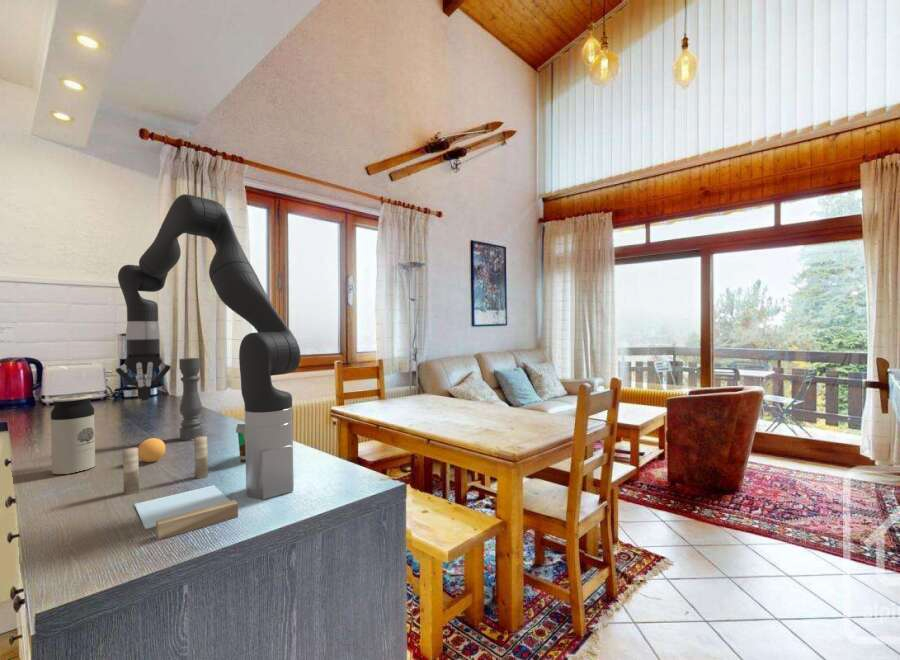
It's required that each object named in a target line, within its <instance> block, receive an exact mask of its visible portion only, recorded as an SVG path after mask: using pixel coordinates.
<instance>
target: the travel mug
mask: <svg viewBox="0 0 900 660" xmlns="http://www.w3.org/2000/svg"><path fill="white" fill-rule="evenodd" d="M92 398H93V395H92V394H73V395H64V396H57V397H53V398H51V401H52V402H53V405H54V407H53V409H52V410H51V411H50V433H51V435H50V436H51V438H50V439H51V473H52V474H54V475H57V474H66V475H68V474H67V473H74V472H78V473H80V472H79V471H83V470H86V471H88V470H87V469H89V470H90V468H91V469H92V468H94V467H95V466H96V447H95V446H96V440H95V439H96V438H95V437H96V436H95V435H96V434H95V408H94V406H93V405H92V403H91V401H92ZM83 472H84V471H83ZM74 474H75V473H74Z"/></svg>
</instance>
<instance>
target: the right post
mask: <svg viewBox="0 0 900 660" xmlns="http://www.w3.org/2000/svg"><path fill="white" fill-rule="evenodd" d="M193 441H194V443H193V444H194V446H193V447H194V478H195V479H203V478H206V477H208V476H209V465H208V463H209V459H208V458H209V456H208V454H209V453H208V452H209V451H208V436H206V435H203V436H200V437H196V438H194V440H193Z"/></svg>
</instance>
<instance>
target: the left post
mask: <svg viewBox="0 0 900 660" xmlns="http://www.w3.org/2000/svg"><path fill="white" fill-rule="evenodd" d="M139 467H140V465H139V456H138V447H137V446H136V447H135V446H134V447H128V448H125V449H123V450H122V470H123V471H122V477H123V494H124V495H131V494H135V493H137V492H139V491H140V475H139V473H140V470H139Z"/></svg>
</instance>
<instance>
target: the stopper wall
mask: <svg viewBox="0 0 900 660" xmlns="http://www.w3.org/2000/svg"><path fill="white" fill-rule="evenodd" d="M238 504H239V503H238V502H237V501H236V500H235V499H232V500H230V501H228V502H224V503H221V504H217V505H213V506H209V507H206V508H202V509H198V510H194V511H190V512H187V513H183V514H179V515H175V516H172V517H168V518H164V519H160V520H157V521H156V527H155V530H156V531H155V532H156V538H157V539H158V540H159V541H160V540H163V539H166V538H170V537H174V536H177V535H181V534H183V533H187V532H191V531H194V530H197V529H198V530H199V529H201V528H204V527H209V526H211V525H214V524H217V523H222V522H224V521H229V520H232V519H235V518H239V505H238ZM190 530H191V531H190Z"/></svg>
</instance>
